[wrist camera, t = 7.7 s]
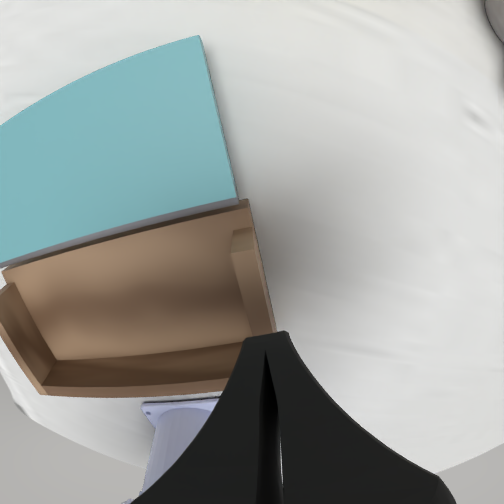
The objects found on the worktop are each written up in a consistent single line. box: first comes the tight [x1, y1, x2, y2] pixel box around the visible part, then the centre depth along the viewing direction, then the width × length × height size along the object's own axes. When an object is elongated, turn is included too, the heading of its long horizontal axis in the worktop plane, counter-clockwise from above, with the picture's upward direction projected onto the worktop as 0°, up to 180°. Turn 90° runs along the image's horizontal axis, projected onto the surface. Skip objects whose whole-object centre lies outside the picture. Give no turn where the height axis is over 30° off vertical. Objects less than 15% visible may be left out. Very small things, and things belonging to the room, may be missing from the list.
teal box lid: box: [0, 35, 239, 268], centre depth 14 cm, size 1×17×8 cm
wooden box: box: [0, 199, 277, 398], centre depth 17 cm, size 9×18×5 cm, turn 102°
